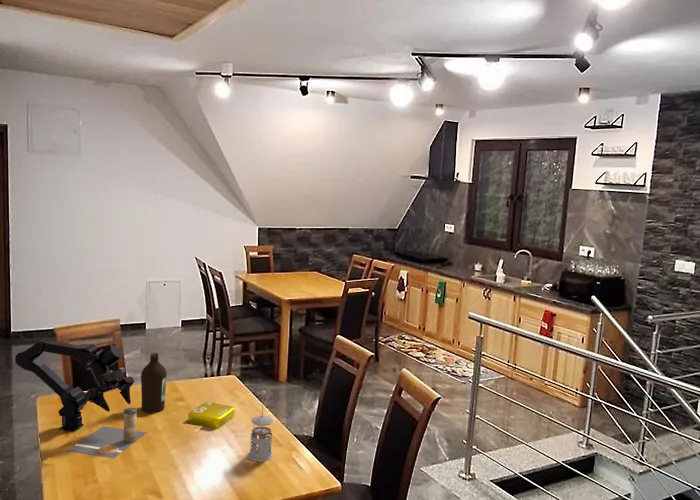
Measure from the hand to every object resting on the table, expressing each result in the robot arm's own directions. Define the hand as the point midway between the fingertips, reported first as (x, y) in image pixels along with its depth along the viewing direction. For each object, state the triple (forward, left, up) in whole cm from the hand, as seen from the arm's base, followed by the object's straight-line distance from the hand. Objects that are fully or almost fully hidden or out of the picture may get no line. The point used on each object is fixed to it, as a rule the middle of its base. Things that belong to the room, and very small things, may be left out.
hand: (119, 407), depth 217 cm
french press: (+55, +5, -13) cm, 57 cm away
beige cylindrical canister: (+6, -2, -11) cm, 13 cm away
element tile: (+25, +29, -13) cm, 40 cm away
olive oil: (-3, +31, -13) cm, 33 cm away
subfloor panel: (-1, -5, -13) cm, 14 cm away
